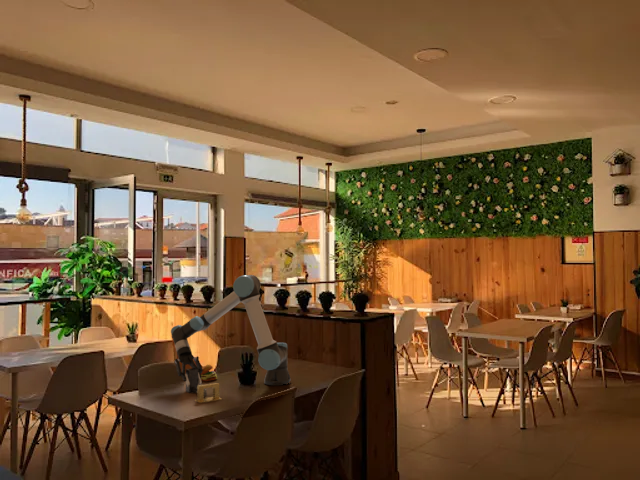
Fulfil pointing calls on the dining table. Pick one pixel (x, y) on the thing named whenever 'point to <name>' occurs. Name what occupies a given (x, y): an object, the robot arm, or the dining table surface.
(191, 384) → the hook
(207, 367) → the cheeseburger
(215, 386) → the eye bracket
